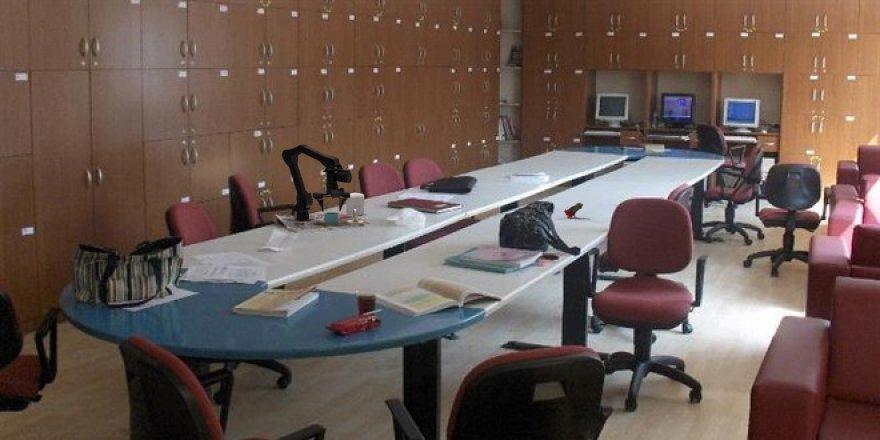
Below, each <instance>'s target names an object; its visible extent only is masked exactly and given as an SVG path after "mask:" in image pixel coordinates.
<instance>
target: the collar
mask: <svg viewBox="0 0 880 440" xmlns="http://www.w3.org/2000/svg"><path fill="white" fill-rule="evenodd" d="M323 213H324V215H323V216H324V218H323V219H324V223H326V224H338V220H339V216H340V215H339V212H333V211H332V212H331V211H328V212H323Z"/></svg>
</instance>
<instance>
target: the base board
mask: <svg viewBox="0 0 880 440" xmlns="http://www.w3.org/2000/svg"><path fill="white" fill-rule="evenodd" d="M318 223H320V224H322V225H324V226H327V227H336V226H355V225H356V226H357V225H359V226H360V225H372V223H370V222H368V221H366V220H364V219H362V218H358V222H353V218H348V219H338V224H326V223H324V220H318Z"/></svg>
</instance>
